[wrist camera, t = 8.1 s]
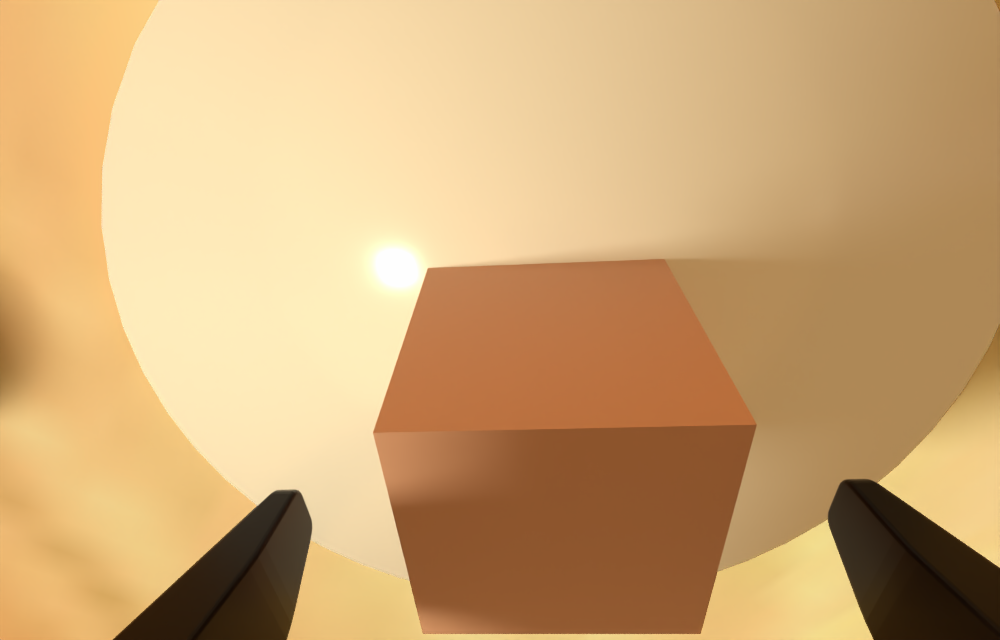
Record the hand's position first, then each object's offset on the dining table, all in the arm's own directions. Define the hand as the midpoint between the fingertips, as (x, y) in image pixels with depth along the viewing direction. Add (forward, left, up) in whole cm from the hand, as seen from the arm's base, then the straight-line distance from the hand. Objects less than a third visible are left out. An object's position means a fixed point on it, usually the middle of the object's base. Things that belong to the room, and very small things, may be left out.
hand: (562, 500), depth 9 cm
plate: (0, 0, -5) cm, 5 cm away
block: (0, 0, -4) cm, 4 cm away
